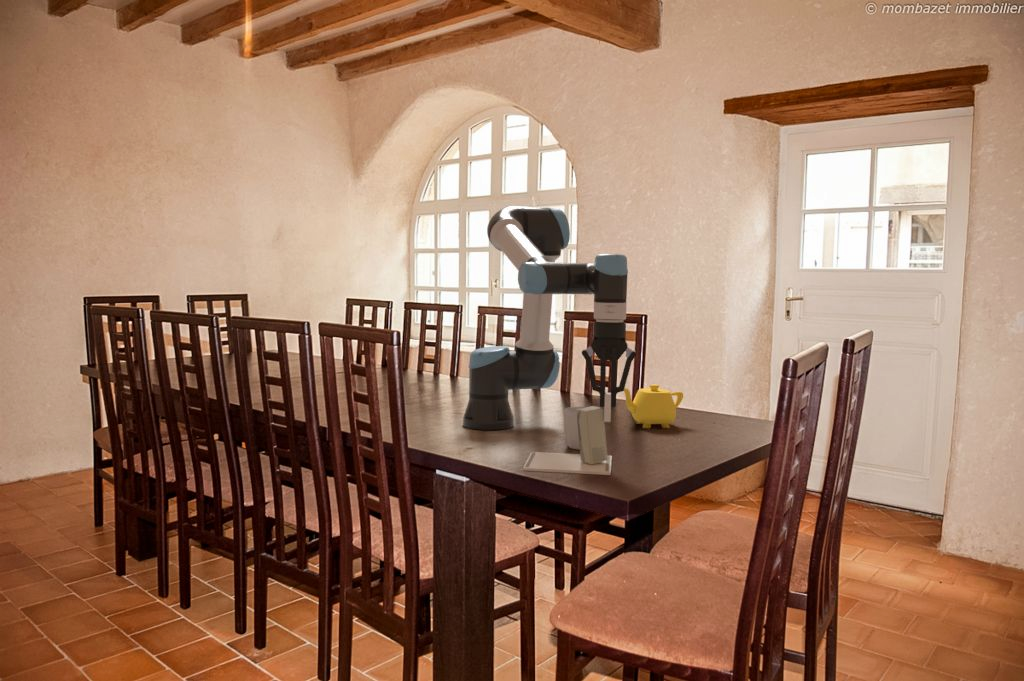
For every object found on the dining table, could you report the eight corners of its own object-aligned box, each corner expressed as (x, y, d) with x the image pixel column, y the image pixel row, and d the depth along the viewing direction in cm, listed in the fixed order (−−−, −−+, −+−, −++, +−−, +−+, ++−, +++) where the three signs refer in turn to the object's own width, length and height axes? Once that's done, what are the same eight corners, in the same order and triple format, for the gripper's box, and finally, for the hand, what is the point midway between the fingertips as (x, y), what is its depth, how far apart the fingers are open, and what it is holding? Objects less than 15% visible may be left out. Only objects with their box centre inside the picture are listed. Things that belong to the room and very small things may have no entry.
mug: (603, 450, 192) (604, 412, 191) (570, 452, 189) (571, 413, 189) (585, 439, 204) (586, 403, 203) (554, 441, 202) (555, 404, 201)
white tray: (531, 454, 187) (531, 451, 187) (611, 458, 184) (611, 455, 184) (522, 470, 171) (522, 467, 171) (610, 475, 168) (610, 472, 168)
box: (597, 457, 180) (593, 405, 178) (608, 461, 176) (604, 407, 175) (579, 462, 177) (575, 408, 176) (590, 465, 173) (586, 410, 172)
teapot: (612, 421, 231) (613, 381, 230) (674, 420, 233) (675, 381, 232) (624, 430, 217) (626, 388, 216) (690, 429, 220) (691, 387, 219)
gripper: (580, 321, 170) (578, 422, 172) (638, 322, 168) (635, 425, 170) (582, 319, 178) (580, 416, 180) (637, 320, 176) (635, 418, 178)
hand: (607, 420), depth 175 cm, fingers closed
